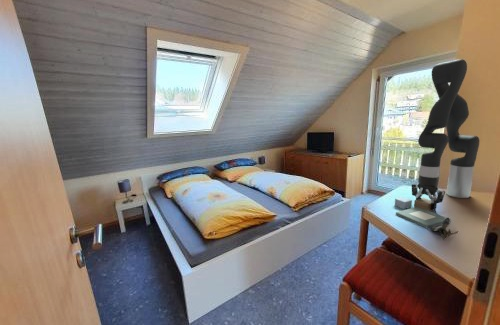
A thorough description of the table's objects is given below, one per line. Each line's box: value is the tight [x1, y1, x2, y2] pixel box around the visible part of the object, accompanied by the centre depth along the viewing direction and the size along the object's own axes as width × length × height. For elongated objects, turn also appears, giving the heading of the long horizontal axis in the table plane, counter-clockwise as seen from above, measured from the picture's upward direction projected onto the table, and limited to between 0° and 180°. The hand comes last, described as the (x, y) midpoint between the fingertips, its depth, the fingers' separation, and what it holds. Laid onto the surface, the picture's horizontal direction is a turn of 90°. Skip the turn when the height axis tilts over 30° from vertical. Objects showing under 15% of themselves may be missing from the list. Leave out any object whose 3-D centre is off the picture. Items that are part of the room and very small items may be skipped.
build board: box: [395, 207, 451, 229], centre depth 98 cm, size 14×14×1 cm
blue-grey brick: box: [394, 196, 413, 210], centre depth 110 cm, size 5×5×4 cm
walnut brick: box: [413, 197, 434, 212], centre depth 106 cm, size 6×6×4 cm
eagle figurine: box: [430, 217, 459, 240], centre depth 84 cm, size 8×7×9 cm
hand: (425, 207), depth 107 cm, fingers closed on walnut brick, 6 cm apart
